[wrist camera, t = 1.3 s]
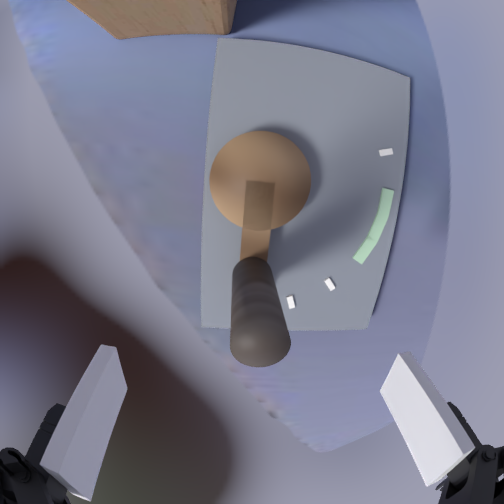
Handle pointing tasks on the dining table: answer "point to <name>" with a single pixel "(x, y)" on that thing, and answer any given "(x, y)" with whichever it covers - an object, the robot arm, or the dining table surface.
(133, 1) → the wooden block
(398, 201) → the board
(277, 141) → the dial
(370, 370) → the dining table surface
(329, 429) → the dining table surface
